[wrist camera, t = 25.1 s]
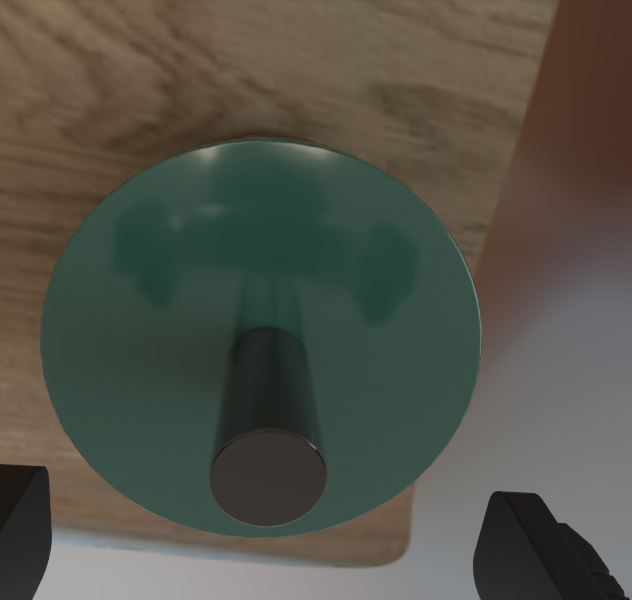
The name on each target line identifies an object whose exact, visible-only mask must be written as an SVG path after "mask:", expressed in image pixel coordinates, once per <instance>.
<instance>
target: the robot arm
mask: <svg viewBox="0 0 632 600" xmlns="http://www.w3.org/2000/svg"><path fill="white" fill-rule="evenodd" d="M51 543H52V528H51V509H50V490H49V475H48V471H47V469H46V467H44V466H26V465H7V464H0V600H32V599H33V597H34V595H35V593H36V591H37V588H38V586H39V584H40V582H41V580H42V578H43V575H44V573H45V570H46V567H47V564H48V560H49V555H50V551H51ZM473 573H474V580H475V585H476V588H477V592H478V594H479V597H480V599H481V600H630V599H629V598H628V597H625V596H624V591H623V589H622V588H621V586H620V585H619V584H618V583H617V581H616V579H615V578H614V577H613V576H610V575H609V570H608V568H607V567H606V565H605V564H604V562H603V561H602V559H601V558H600V557H599V555H598V554H597V552H596V551H595V550H594V548H593V547H592V545H591V544H589V543H588V542H587V541H586V540H585V539H584V538H582V537H581V536H580V535H579V534H578V533H577V532H575V531H574V530H573V529H572V528H571V527H570V526H568V525H567V524H566V523H558V522H557V521H556V519H555V518H554V516H553V515H552V513H551V512H550V511H549V509H548V507H547V506H546V504H545V503H544V502H543V500H542V499H541V497H540V496H539V495H537V494H535V493H522V492H502V491H496V492H494V493H493V494H492V495H491V497H490V500H489V503H488V506H487V510H486V513H485V517H484V521H483V524H482V528H481V531H480V535H479V538H478V542H477V546H476V549H475V553H474V559H473Z"/></svg>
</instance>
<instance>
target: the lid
mask: <svg viewBox="0 0 632 600" xmlns="http://www.w3.org/2000/svg"><path fill="white" fill-rule="evenodd" d="M481 348H482V324H481V315H480V306H479V301H478V297H477V293H476V290H475V286H474V282H473V278H472V276H471V274H470V271H469V269H468V266H467V264H466V262H465V259H464V257H463V254H462V253H461V251H460V249H459V248H458V246H457V244H456V243H455V241H454V239H453V238H452V236H451V234H450V233H449V231H448V230H447V228H446V227H445V226H444V225H443V223H442V222H441V221H440V220H439V219H438V217H437V216H436V215H435V214H434V212H433V211H432V210H431V209H430V208H429V207H428V206H427V205H426V204H425V203H424V202H423V201H422V200H421V199H420V198H418V197H417V196H416V195H415V194H414V193H413V192H412V191H411V190H410V189H409V188H407V187H406V186H405V185H403V184H402V183H400V182H399V181H397V180H396V179H394V178H393V177H391V176H390V175H388V174H387V173H386V172H384V171H383V170H381V169H380V168H378V167H376V166H374V165H372V164H370V163H368V162H366V161H364V160H362V159H360V158H358V157H356V156H354V155H351V154H349V153H346V152H343V151H340V150H337V149H334V148H331V147H328V146H325V145H321V144H316V143H311V142H306V141H300V140H295V139H286V138H268V137H254V138H242V139H230V140H224V141H219V142H215V143H210V144H206V145H201V146H197V147H194V148H191V149H188V150H185V151H183V152H180V153H177V154H175V155H172V156H169V157H167V158H165V159H163V160H161V161H159V162H157V163H155V164H154V165H152V166H150V167H148V168H146V169H144V170H142V171H141V172H139V173H137V174H135V175H134V176H132V177H131V178H130V179H128V180H127V181H126V182H124V183H123V184H122V185H120V186H119V187H118V188H116V189H115V190H114V191H112V192H111V193H110V194H108V195H107V196H106V197H105V198H104V199H103V200H102V201H101V202H100V203H99V204H98V205H97V206H96V207H95V208H94V209H93V210H92V211H91V212H90V213H89V214H88V215H87V217H86V218H85V219H84V221H83V222H82V223H81V225H80V226H79V227H78V229H77V230H76V231H75V233H74V234H73V235H72V237H71V238H70V239H69V241H68V243H67V245H66V247H65V249H64V251H63V252H62V254H61V256H60V258H59V260H58V262H57V264H56V266H55V268H54V271H53V274H52V277H51V280H50V283H49V286H48V289H47V291H46V295H45V301H44V306H43V312H42V317H41V335H40V351H41V359H42V367H43V375H44V379H45V383H46V386H47V390H48V393H49V397H50V401H51V403H52V405H53V408H54V410H55V412H56V414H57V417H58V419H59V421H60V424H61V426H62V427H63V429H64V431H65V432H66V434H67V435H68V437H69V439H70V440H71V442H72V444H73V445H74V447H75V448H76V449H77V451H78V452H79V453H80V454H81V456H82V457H83V458H84V459H85V460H86V462H87V463H88V464H89V465H90V467H91V468H92V469H93V470H94V471H95V472H97V473H98V474H99V475H100V476H101V477H102V478H103V479H104V480H105V481H106V482H107V483H108V484H109V485H110V486H112V487H113V488H114V489H116V490H117V491H118V492H120V493H121V494H122V495H124V496H125V497H126V498H128V499H129V500H130V501H132V502H134V503H136V504H137V505H139V506H141V507H143V508H144V509H146V510H148V511H150V512H151V513H153V514H156V515H158V516H160V517H162V518H165V519H167V520H169V521H172V522H174V523H176V524H180V525H183V526H186V527H189V528H192V529H196V530H199V531H203V532H208V533H213V534H218V535H224V536H233V537H244V538H278V537H286V536H295V535H302V534H307V533H311V532H316V531H320V530H324V529H328V528H331V527H334V526H337V525H340V524H343V523H346V522H348V521H351V520H353V519H355V518H357V517H359V516H362V515H364V514H366V513H368V512H370V511H372V510H374V509H376V508H377V507H379V506H381V505H382V504H384V503H386V502H387V501H389V500H391V499H392V498H394V497H395V496H396V495H398V494H399V493H400V492H402V491H403V490H404V489H406V488H407V487H408V486H410V485H411V484H412V483H413V482H414V481H415V480H416V479H417V478H419V477H420V476H421V475H422V474H423V473H424V472H425V471H426V470H427V469H428V468H429V467H430V466H431V465H432V463H433V462H434V461H435V460H436V458H437V457H438V456H439V455H440V454H441V453H442V451H443V450H444V449H445V447H446V446H447V445H448V443H449V442H450V440H451V438H452V437H453V435H454V433H455V432H456V431H457V429H458V427H459V425H460V423H461V421H462V419H463V416H464V415H465V413H466V411H467V408H468V406H469V404H470V401H471V398H472V395H473V392H474V388H475V385H476V382H477V377H478V372H479V366H480V360H481Z"/></svg>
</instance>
